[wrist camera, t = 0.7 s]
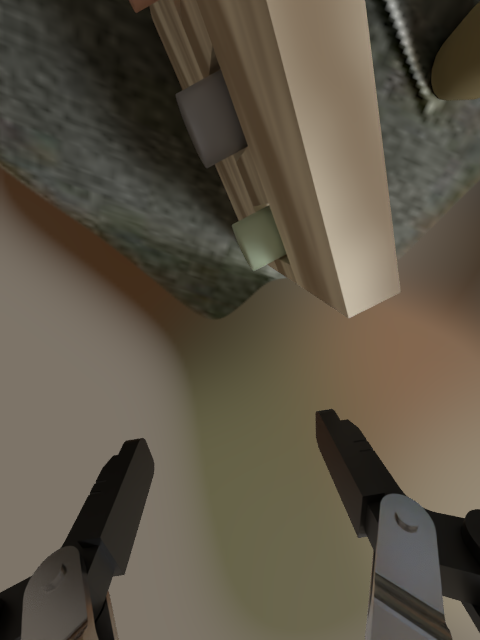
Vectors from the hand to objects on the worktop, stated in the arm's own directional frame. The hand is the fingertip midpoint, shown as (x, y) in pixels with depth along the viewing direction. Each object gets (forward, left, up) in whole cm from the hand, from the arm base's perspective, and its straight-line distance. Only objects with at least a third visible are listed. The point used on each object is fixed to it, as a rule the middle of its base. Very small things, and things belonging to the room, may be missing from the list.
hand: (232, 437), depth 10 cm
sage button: (0, +9, -13) cm, 16 cm away
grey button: (-7, +14, -13) cm, 20 cm away
